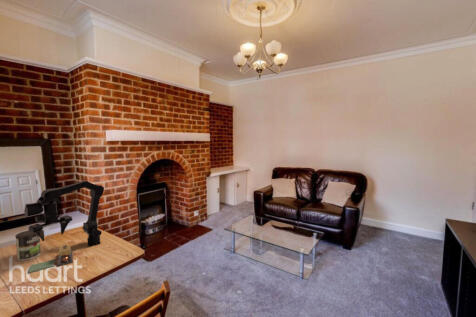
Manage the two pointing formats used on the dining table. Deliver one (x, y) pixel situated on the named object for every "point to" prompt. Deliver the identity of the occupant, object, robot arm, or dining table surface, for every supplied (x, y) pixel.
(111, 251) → the dining table surface
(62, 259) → the body
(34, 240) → the coffee can
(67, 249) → the tan rectangular block
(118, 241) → the dining table surface
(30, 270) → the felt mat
